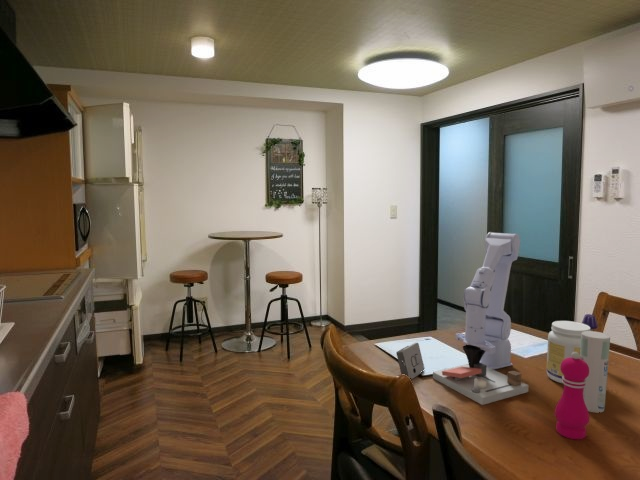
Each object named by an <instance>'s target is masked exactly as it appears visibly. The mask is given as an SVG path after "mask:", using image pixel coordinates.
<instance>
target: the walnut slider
mask: <svg viewBox="0 0 640 480" xmlns="http://www.w3.org/2000/svg"><path fill="white" fill-rule="evenodd" d="M506 376H507V383H509V384H511V385H513V386H518V385H521V382H522V373H520V372H518V371H515V370H510V371H507V375H506Z"/></svg>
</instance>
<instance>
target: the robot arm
mask: <svg viewBox="0 0 640 480" xmlns="http://www.w3.org/2000/svg"><path fill="white" fill-rule="evenodd" d="M484 238H485V239H484V246H485V251H486V253H485V257H484V259H483V264H482V266H481V267H479V268H477V269H476V271H475V274H474V277H473V279H472V281H471V283H470V286H468V287H466V288H464V291H463V297H462V301H463V307H464V311H465V329H464V331H465V333H464V334H463V333H461V332H460V333H455V340H456V341H460V342H462V343H463V346H462V349H463V352H464V353H465V356H466V359H467V362H468V363H467V364H469V367H470V368H474V364H476V363H483V364H485V365H487V367H488V368H491V369H493V370H498V369H502V368H506V367H511V366H513V363H512V362H511V355H512V353H511V352H512V344H511V342H510V339H509V338H510V335H511V330H512V328H511V323H512V320H511V317H510V315H509V314H507V313H508V312H506V311H505V310H504V309H505V303H506V296H507V292H508V286H509V281H510V280H509V279H510V274H511V267H512V263H513V262H514V261H517V260H518V257H519V255H520V254H519V253H520V252H519V251H520V247H521V238H520V236H519V234H518V233H506V232H504V233H503V232H492V231H489V232H488V233H487V234H486V235H485V237H484Z"/></svg>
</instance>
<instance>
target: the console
mask: <svg viewBox="0 0 640 480" xmlns="http://www.w3.org/2000/svg"><path fill="white" fill-rule="evenodd" d="M458 367H469V363H467V364H462V365H459V366H453V367H449V368H445V369H439V370H436V371H432V379H434V380H435V381H437V382H439V383H441V384H443V385H444V386H446V387H448V388H449V389H452V390H453V391H456V392H458V393H459V394H460V395H463V396H465V397H467V398H469V399H471V400H473V401H474V402H476V403H478V404H480V405H481V406H484V405H488V404H491V403H494V402H497V401H501V400H505V399H508V398H512V397H515V396H519V395H522V394H525V393H529V384H527V383H524V382H522V381H521V385H518V386H513V385H511V384H509V383H507V376H508V375H507V374H504V373H502V372H500V371H497V370H496V369H494V370H493V369H491V368H488V367H487V368H486V376H482V377H478V376H476V375H472V376H468V377H463V378H458V377H451V376H444V375H442V371H445V370H449V369H454V368H458ZM469 368H470V367H469Z"/></svg>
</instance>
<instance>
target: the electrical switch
mask: <svg viewBox="0 0 640 480" xmlns="http://www.w3.org/2000/svg"><path fill="white" fill-rule="evenodd" d="M396 357H397V361H398V366H399V370H400V375H401V376H402V374H405V375H407V376H409V377H410V378H411V379H410V380H414V379H415V378H416V377H418V376H419V375H420V374H421V373H420V372H421V371H423V370H424V369H425V364H424V361H423V356H422V352H421V348H420V344H419V343H418V342H413V343H412V344H410V345H407V346H405V347H403V348H401V349H400V350H397V351H396ZM424 371H425V370H424ZM424 371H423V372H424ZM409 377H408V378H409Z"/></svg>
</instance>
